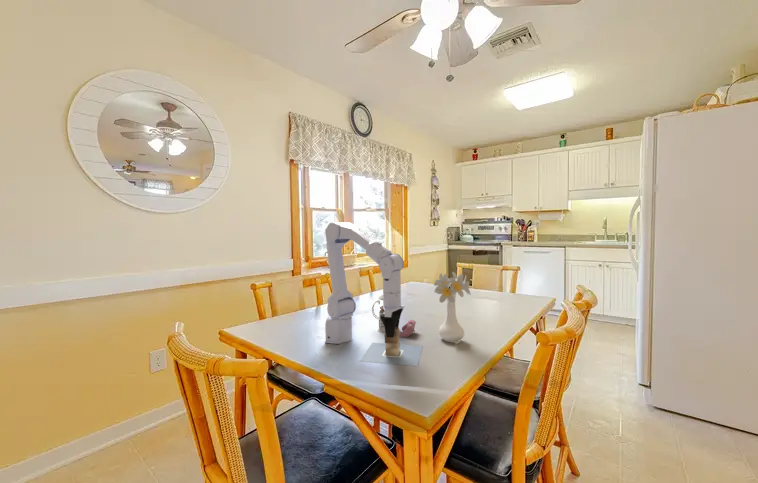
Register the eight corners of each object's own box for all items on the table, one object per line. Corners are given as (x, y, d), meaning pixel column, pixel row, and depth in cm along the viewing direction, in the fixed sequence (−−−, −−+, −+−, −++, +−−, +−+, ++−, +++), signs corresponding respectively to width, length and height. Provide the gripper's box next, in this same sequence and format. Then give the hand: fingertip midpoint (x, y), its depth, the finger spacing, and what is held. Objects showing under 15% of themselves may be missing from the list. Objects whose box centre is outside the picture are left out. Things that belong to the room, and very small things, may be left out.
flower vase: (432, 350, 105) (431, 277, 105) (435, 332, 123) (435, 270, 122) (472, 353, 102) (471, 277, 101) (470, 334, 120) (469, 270, 119)
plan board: (359, 363, 96) (359, 360, 96) (372, 344, 111) (372, 342, 111) (417, 368, 92) (417, 365, 92) (422, 348, 107) (422, 345, 107)
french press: (399, 335, 121) (398, 271, 120) (370, 334, 123) (369, 271, 122) (402, 327, 130) (401, 268, 129) (375, 326, 132) (374, 268, 131)
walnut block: (384, 342, 100) (384, 330, 100) (387, 338, 104) (387, 326, 104) (397, 343, 99) (396, 331, 99) (399, 339, 103) (398, 327, 103)
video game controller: (409, 343, 116) (417, 327, 116) (398, 337, 117) (406, 321, 116) (411, 334, 126) (418, 319, 125) (401, 329, 127) (408, 314, 126)
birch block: (385, 355, 100) (385, 342, 100) (388, 350, 104) (387, 338, 104) (397, 356, 99) (397, 343, 99) (399, 351, 103) (399, 339, 103)
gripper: (400, 296, 93) (401, 341, 93) (407, 287, 107) (407, 327, 107) (377, 296, 94) (378, 340, 95) (387, 287, 109) (387, 325, 109)
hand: (392, 333), depth 101 cm, fingers open, 7 cm apart
